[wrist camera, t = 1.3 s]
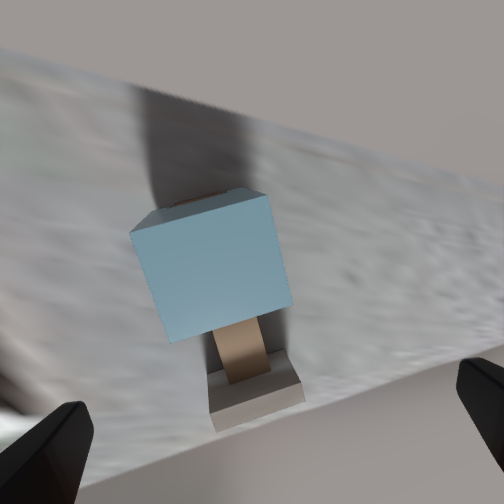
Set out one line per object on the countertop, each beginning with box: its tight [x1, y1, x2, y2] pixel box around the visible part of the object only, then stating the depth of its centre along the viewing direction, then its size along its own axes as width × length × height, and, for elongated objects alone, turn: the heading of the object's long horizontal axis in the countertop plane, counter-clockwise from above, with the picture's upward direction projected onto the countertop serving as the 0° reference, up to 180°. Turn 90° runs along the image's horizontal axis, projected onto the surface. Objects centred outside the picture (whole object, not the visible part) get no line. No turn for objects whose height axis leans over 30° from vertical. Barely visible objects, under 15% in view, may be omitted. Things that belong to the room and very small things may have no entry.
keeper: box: [129, 187, 293, 344], centre depth 17 cm, size 5×6×7 cm
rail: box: [173, 192, 305, 433], centre depth 20 cm, size 14×6×4 cm, turn 14°
